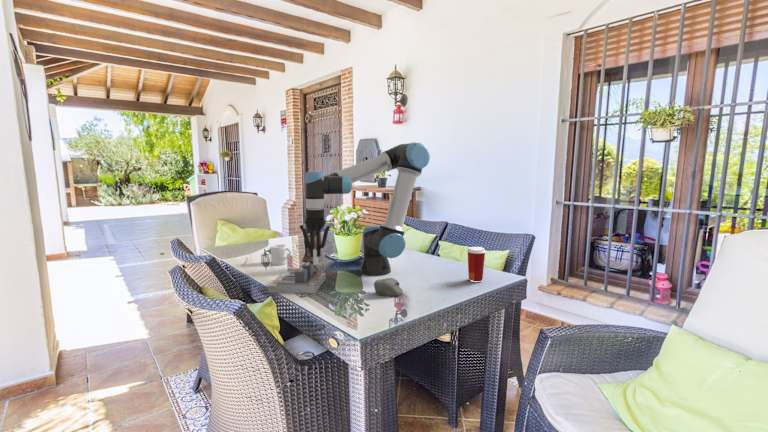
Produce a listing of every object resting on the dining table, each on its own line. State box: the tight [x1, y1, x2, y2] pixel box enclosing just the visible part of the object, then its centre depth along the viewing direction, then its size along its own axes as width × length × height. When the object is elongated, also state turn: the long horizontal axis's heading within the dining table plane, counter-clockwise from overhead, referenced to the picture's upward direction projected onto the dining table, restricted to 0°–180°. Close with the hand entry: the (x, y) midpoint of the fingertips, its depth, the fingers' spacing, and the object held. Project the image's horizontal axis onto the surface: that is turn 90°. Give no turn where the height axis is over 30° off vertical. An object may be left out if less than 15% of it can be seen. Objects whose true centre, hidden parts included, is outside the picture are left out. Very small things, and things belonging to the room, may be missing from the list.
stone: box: [373, 277, 404, 298], centre depth 156 cm, size 9×9×10 cm
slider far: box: [301, 262, 314, 276], centre depth 172 cm, size 4×5×6 cm
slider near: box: [294, 267, 308, 283], centre depth 162 cm, size 4×5×6 cm
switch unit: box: [267, 270, 327, 294], centre depth 168 cm, size 20×20×4 cm
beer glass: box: [466, 246, 487, 281], centre depth 172 cm, size 8×8×15 cm
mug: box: [270, 243, 292, 266], centre depth 206 cm, size 8×12×10 cm
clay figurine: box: [302, 226, 325, 271], centre depth 192 cm, size 13×10×25 cm
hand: (315, 264), depth 161 cm, fingers closed
